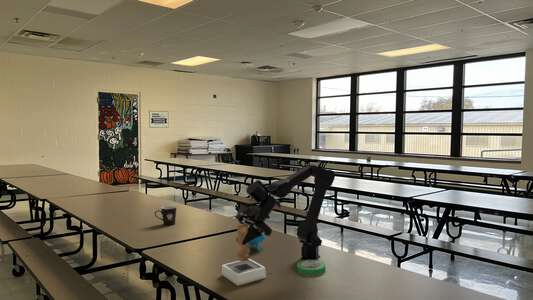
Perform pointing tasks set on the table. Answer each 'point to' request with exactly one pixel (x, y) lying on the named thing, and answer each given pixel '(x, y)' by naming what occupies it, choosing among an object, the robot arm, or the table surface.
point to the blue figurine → (256, 242)
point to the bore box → (243, 272)
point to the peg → (242, 249)
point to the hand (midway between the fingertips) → (239, 242)
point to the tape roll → (311, 271)
